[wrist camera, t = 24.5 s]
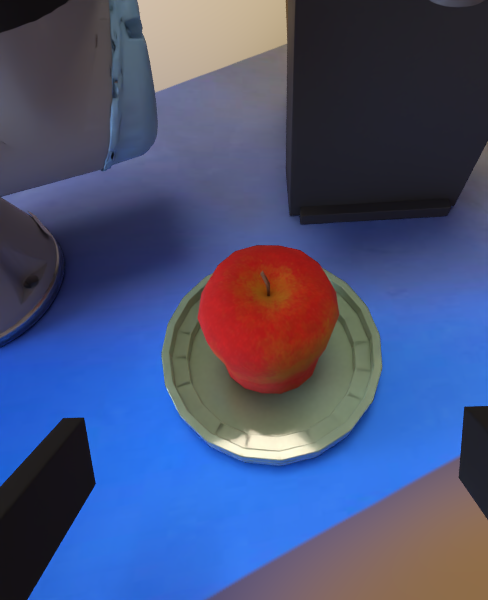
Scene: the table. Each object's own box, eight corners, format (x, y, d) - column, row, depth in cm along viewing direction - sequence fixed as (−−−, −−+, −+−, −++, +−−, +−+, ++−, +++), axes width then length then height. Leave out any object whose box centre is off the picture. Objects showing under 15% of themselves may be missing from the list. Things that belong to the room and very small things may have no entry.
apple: (239, 428, 29) (216, 369, 19) (202, 333, 34) (169, 243, 23) (345, 384, 30) (377, 306, 20) (297, 296, 35) (303, 196, 24)
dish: (232, 514, 27) (227, 511, 25) (141, 332, 35) (130, 315, 32) (418, 391, 30) (431, 377, 28) (297, 249, 38) (298, 228, 36)
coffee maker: (476, 254, 36) (996, -505, 10) (293, 263, 37) (323, -400, 11) (441, 160, 43) (700, -455, 16) (285, 170, 44) (292, -391, 17)
